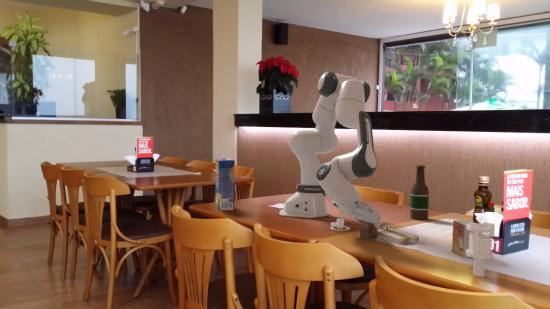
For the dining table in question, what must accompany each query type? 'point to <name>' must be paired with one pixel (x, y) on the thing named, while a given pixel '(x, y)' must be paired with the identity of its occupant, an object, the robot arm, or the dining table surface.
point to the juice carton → (225, 184)
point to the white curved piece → (339, 224)
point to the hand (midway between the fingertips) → (370, 224)
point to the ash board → (397, 236)
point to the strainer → (480, 246)
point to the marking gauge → (371, 229)
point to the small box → (461, 237)
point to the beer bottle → (419, 196)
